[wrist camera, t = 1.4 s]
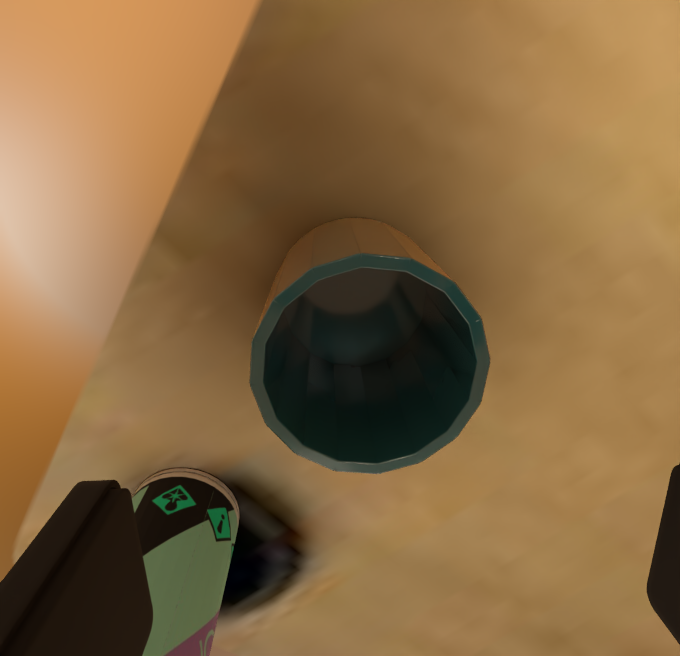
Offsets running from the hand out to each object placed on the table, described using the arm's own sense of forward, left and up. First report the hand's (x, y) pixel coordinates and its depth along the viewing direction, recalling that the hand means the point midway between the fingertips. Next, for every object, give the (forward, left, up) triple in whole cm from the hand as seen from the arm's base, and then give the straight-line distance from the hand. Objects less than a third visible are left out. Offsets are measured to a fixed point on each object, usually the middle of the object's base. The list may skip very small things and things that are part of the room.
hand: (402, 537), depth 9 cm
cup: (0, 0, -14) cm, 14 cm away
